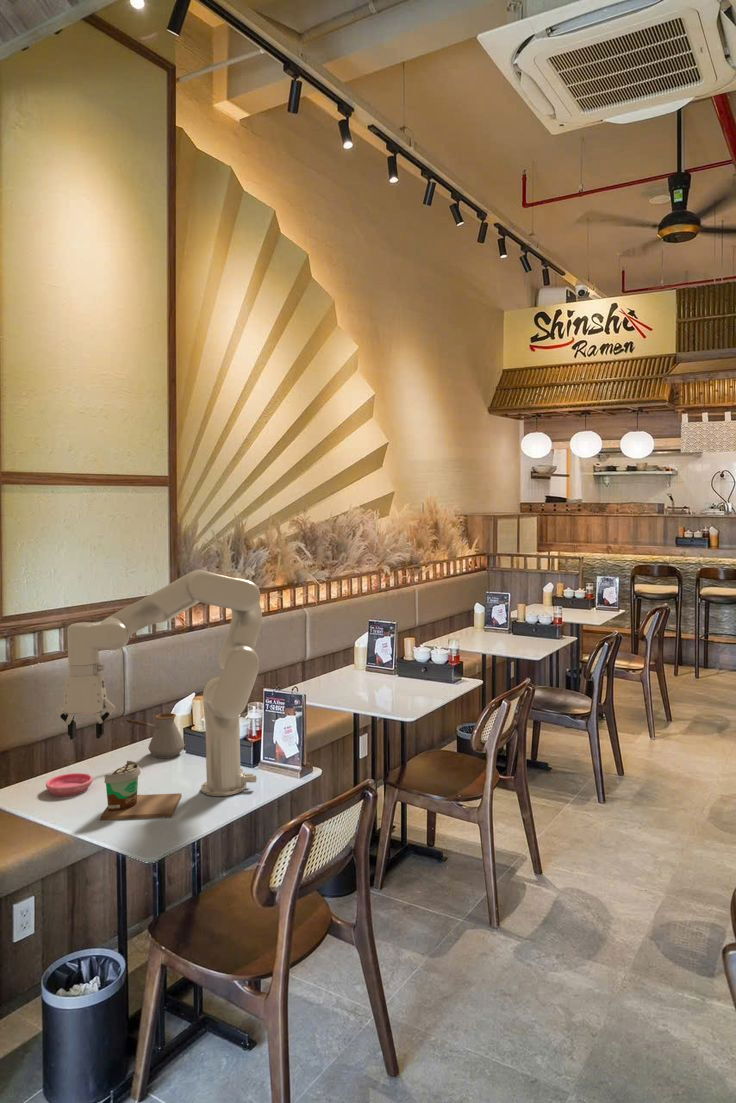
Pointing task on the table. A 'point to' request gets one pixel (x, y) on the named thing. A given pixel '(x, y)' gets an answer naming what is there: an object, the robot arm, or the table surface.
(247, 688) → the robot arm
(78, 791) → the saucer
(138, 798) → the walnut board
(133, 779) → the food container
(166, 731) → the coffee pot
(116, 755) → the table surface
